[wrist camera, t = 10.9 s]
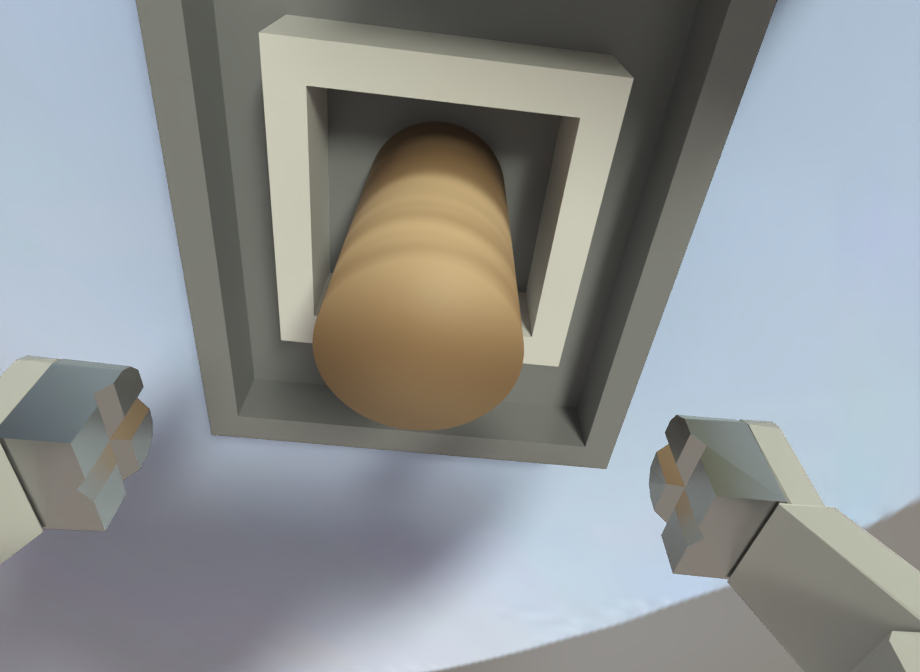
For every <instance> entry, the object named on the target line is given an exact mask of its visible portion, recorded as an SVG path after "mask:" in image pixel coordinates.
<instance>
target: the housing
mask: <svg viewBox="0 0 920 672" xmlns="http://www.w3.org/2000/svg"><path fill="white" fill-rule="evenodd" d="M776 2H777V0H136V4H137V10H138V16H139V22H140V27H141V33H142V39H143V44H144V50H145V56H146V62H147V67H148V73H149V79H150V85H151V90H152V96H153V102H154V107H155V113H156V119H157V125H158V130H159V136H160V142H161V148H162V153H163V159H164V165H165V170H166V176H167V182H168V188H169V193H170V199H171V205H172V210H173V216H174V222H175V228H176V233H177V239H178V245H179V251H180V256H181V262H182V268H183V273H184V279H185V285H186V291H187V296H188V302H189V308H190V314H191V319H192V325H193V331H194V336H195V342H196V348H197V354H198V359H199V365H200V371H201V377H202V382H203V388H204V394H205V399H206V405H207V411H208V417H209V422H210V428H211V434H212V435H221V436H233V437H244V438H256V439H267V440H279V441H290V442H302V443H313V444H325V445H336V446H348V447H359V448H371V449H382V450H394V451H405V452H417V453H428V454H440V455H451V456H463V457H474V458H486V459H497V460H509V461H520V462H532V463H543V464H555V465H566V466H578V467H589V468H601V469H606V468H607V466H608V463H609V460H610V457H611V455H612V452H613V449H614V446H615V444H616V441H617V438H618V435H619V433H620V430H621V427H622V424H623V422H624V419H625V416H626V413H627V411H628V408H629V405H630V402H631V400H632V397H633V394H634V392H635V389H636V386H637V383H638V381H639V378H640V375H641V372H642V370H643V367H644V364H645V361H646V359H647V356H648V353H649V350H650V348H651V345H652V342H653V339H654V337H655V334H656V331H657V328H658V326H659V323H660V320H661V318H662V315H663V312H664V309H665V307H666V304H667V301H668V298H669V296H670V293H671V290H672V287H673V285H674V282H675V279H676V276H677V274H678V271H679V268H680V265H681V263H682V260H683V257H684V255H685V252H686V249H687V246H688V244H689V241H690V238H691V235H692V233H693V230H694V227H695V224H696V222H697V219H698V216H699V213H700V211H701V208H702V205H703V202H704V200H705V197H706V194H707V191H708V189H709V186H710V183H711V181H712V178H713V175H714V172H715V170H716V167H717V164H718V161H719V159H720V156H721V153H722V150H723V148H724V145H725V142H726V139H727V137H728V134H729V131H730V128H731V126H732V123H733V120H734V117H735V115H736V112H737V109H738V107H739V104H740V101H741V98H742V96H743V93H744V90H745V87H746V85H747V82H748V79H749V76H750V74H751V71H752V68H753V65H754V63H755V60H756V57H757V54H758V52H759V49H760V46H761V43H762V41H763V38H764V35H765V33H766V30H767V27H768V24H769V22H770V19H771V16H772V13H773V11H774V8H775V5H776ZM424 122H446V123H451V124H455V125H458V126H461V127H463V128H466V129H468V130H470V131H471V132H473V133H474V134H476V135H477V136H479V137H480V138H481V139H482V140H483V141H485V142H486V144H487V145H488V146H489V147H490V148H491V149H492V151H493V152H494V154H495V155H496V157H497V159H498V161H499V163H500V166H501V169H502V172H503V177H504V183H505V191H506V199H507V208H508V216H509V224H510V232H511V241H512V249H513V257H514V266H515V274H516V282H517V290H518V299H519V307H520V315H521V324H522V332H523V340H524V358H523V365H522V368H521V372H520V375H519V377H518V379H517V381H516V383H515V385H514V387H513V388H512V390H511V391H510V392H509V394H508V395H507V396H506V397H505V398H504V399H503V401H502V402H501V403H499V404H498V405H497V406H496V407H495V408H493V409H492V410H491V411H489V412H488V413H486V414H485V415H483V416H481V417H479V418H477V419H475V420H473V421H471V422H468V423H465V424H463V425H460V426H456V427H452V428H447V429H440V430H428V431H419V430H407V429H399V428H395V427H391V426H387V425H384V424H381V423H378V422H375V421H373V420H371V419H368V418H366V417H364V416H362V415H361V414H359V413H357V412H355V411H354V410H352V409H351V408H350V407H348V406H347V405H346V404H344V403H343V402H342V401H341V400H340V399H339V398H338V397H337V396H336V395H335V394H334V393H333V392H332V391H331V390H330V388H329V387H328V386H327V384H326V383H325V381H324V380H323V378H322V377H321V374H320V372H319V370H318V368H317V365H316V362H315V358H314V353H313V345H312V343H313V331H314V326H315V322H316V319H317V316H318V313H319V311H320V308H321V305H322V302H323V300H324V297H325V294H326V291H327V289H328V286H329V283H330V280H331V278H332V275H333V272H334V269H335V267H336V264H337V261H338V258H339V255H340V253H341V250H342V247H343V244H344V242H345V239H346V236H347V233H348V231H349V228H350V225H351V222H352V220H353V217H354V214H355V211H356V209H357V206H358V203H359V200H360V198H361V195H362V192H363V189H364V187H365V184H366V181H367V178H368V175H369V173H370V170H371V167H372V165H373V162H374V160H375V157H376V156H377V154H378V152H379V150H380V149H381V148H382V146H383V145H384V144H385V143H386V142H387V141H388V140H389V139H390V138H391V137H392V136H394V135H395V134H396V133H398V132H399V131H401V130H403V129H405V128H407V127H409V126H412V125H415V124H419V123H424Z"/></svg>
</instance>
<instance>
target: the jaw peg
mask: <svg viewBox="0 0 920 672" xmlns="http://www.w3.org/2000/svg"><path fill="white" fill-rule="evenodd" d="M312 345H313V353H314V358H315V362H316V365H317V368H318V370H319V372H320V374H321V377H322V378H323V380H324V381H325V383H326V384H327V386H328V387H329V388H330V390H331V391H332V392H333V393H334V394H335V395H336V396H337V397H338V398H339V399H340V400H341V401H342V402H343V403H344V404H346V405H347V406H348V407H350V408H351V409H352V410H354V411H355V412H357V413H359V414H361V415H362V416H364V417H366V418H368V419H371V420H373V421H375V422H378V423H381V424H384V425H387V426H391V427H395V428H399V429H407V430H419V431H428V430H440V429H447V428H452V427H456V426H460V425H463V424H465V423H468V422H471V421H473V420H475V419H477V418H479V417H481V416H483V415H485V414H486V413H488V412H489V411H491V410H492V409H493V408H495V407H496V406H497V405H498V404H499V403H501V402H502V401H503V399H504V398H505V397H506V396H507V395H508V394H509V392H510V391H511V390H512V388H513V387H514V385H515V383H516V381H517V379H518V377H519V375H520V372H521V368H522V365H523V358H524V340H523V332H522V324H521V315H520V307H519V299H518V290H517V282H516V274H515V266H514V257H513V249H512V241H511V232H510V224H509V216H508V208H507V199H506V191H505V183H504V177H503V172H502V169H501V166H500V163H499V161H498V159H497V157H496V155H495V154H494V152H493V151H492V149H491V148H490V147H489V146H488V145H487V144H486V142H485V141H483V140H482V139H481V138H480V137H479V136H477V135H476V134H474V133H473V132H471V131H470V130H468V129H466V128H463V127H461V126H458V125H455V124H451V123H446V122H424V123H419V124H415V125H412V126H409V127H407V128H405V129H403V130H401V131H399V132H398V133H396V134H395V135H394V136H392V137H391V138H390V139H389V140H388V141H387V142H386V143H385V144H384V145H383V146H382V148H381V149H380V150H379V152H378V154H377V156H376V157H375V160H374V162H373V165H372V167H371V170H370V173H369V175H368V178H367V181H366V184H365V187H364V189H363V192H362V195H361V198H360V200H359V203H358V206H357V209H356V211H355V214H354V217H353V220H352V222H351V225H350V228H349V231H348V233H347V236H346V239H345V242H344V244H343V247H342V250H341V253H340V255H339V258H338V261H337V264H336V267H335V269H334V272H333V275H332V278H331V280H330V283H329V286H328V289H327V291H326V294H325V297H324V300H323V302H322V305H321V308H320V311H319V313H318V316H317V319H316V322H315V326H314V331H313V343H312Z"/></svg>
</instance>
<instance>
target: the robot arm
mask: <svg viewBox="0 0 920 672" xmlns="http://www.w3.org/2000/svg"><path fill="white" fill-rule="evenodd" d="M142 389H143V383H142V380H141V377H140V374H139V371H138V370H137V369H135V368H133V367H131V366H123V365H114V364H105V363H96V362H87V361H78V360H69V359H53V358H45V357H36V356H25V357H23V358H20V359H17V360H16V361H15V362H14V363H13V364H12V365H11V366H10V367H9V368H8V369H7V370H6V371H5V372H4V373H3V374H2V375H1V376H0V564H2V563H3V562H4V561H6V560H7V559H8V558H10V557H11V556H12V555H14V554H15V553H16V552H17V551H19V550H20V549H21V548H23V547H24V546H25V545H27V544H28V543H29V542H31V541H32V540H33V539H35V538H36V537H37V536H38V535H40V534H41V533H42V532H43V529H42V528H44V529H65V530H86V531H106V529H107V528H108V526H109V524H110V522H111V520H112V519H113V517H114V515H115V513H116V512H117V510H118V508H119V506H120V504H121V503H122V501H123V499H124V497H125V496H126V494H127V493H126V490H125V487H124V484H123V480H124V479H126V478H127V477H129V476H131V475H132V474H134V473H135V472H137V471H138V470H140V468H141V467H142V465H143V463H144V461H145V459H146V457H147V455H148V452H149V448H150V444H151V440H152V436H153V423H152V417H151V413H150V409H149V408H148V407H147V406H146V405H145V404H143V403H142V402H141V401H140V400H139V399H138V398H137V397H138V395H139V394H140V392H141V390H142ZM665 434H666V437H667V440H668V443H669V444H668V445H667V446H665V447H663V448H662V449H660V450H659V451H657V452H656V454H655V457H654V460H653V462H652V465H651V468H650V478H649V489H650V497H651V501H652V505H653V508H654V511H655V512H656V513H657V514H658V515H659V516H660V517H661V518H662V519H663V520H664V521H665V522H666V523H667V524H666V526H665V529H664V531H663V533H662V535H661V536H662V539H663V543H664V546H665V549H666V553H667V556H668V559H669V563H670V566H671V569H672V573H673V574H682V575H692V576H702V577H712V578H722V579H729V580H728V581H727V582H728V583H729V585H730V586H731V587H732V588H733V589H734V590H735V592H736V593H737V594H738V595H739V596H740V597H741V598H742V600H743V601H744V602H745V603H746V604H747V605H748V607H749V608H750V609H751V610H752V611H753V612H754V614H755V615H756V616H757V617H758V618H759V619H760V621H761V622H762V623H763V624H764V625H765V626H766V628H767V629H768V630H769V631H770V632H771V633H772V634H773V636H774V637H775V638H776V639H777V640H778V641H779V643H780V644H781V645H782V646H783V647H784V649H785V650H786V651H787V652H788V653H789V654H790V655H791V656H792V658H793V659H794V660H795V661H796V662H797V664H798V665H799V666H800V667H801V668H802V669H803V671H804V672H920V572H919V571H918V570H917V569H915V568H914V567H913V566H911V565H910V564H909V563H907V562H906V561H905V560H904V559H902V558H901V557H899V556H898V555H897V554H896V553H894V552H893V551H891V550H890V549H889V548H888V547H886V546H885V545H884V544H882V543H881V542H880V541H878V540H877V539H876V538H875V537H873V536H872V535H871V534H869V533H868V532H867V531H865V530H864V529H863V528H861V527H860V526H859V525H857V524H856V523H855V522H853V521H852V520H851V519H850V518H848V517H847V516H846V515H844V514H843V513H842V512H840V511H839V510H838V509H836V508H833V507H825V505H824V504H823V502H822V500H821V498H820V497H819V495H818V493H817V491H816V490H815V488H814V486H813V484H812V483H811V481H810V479H809V477H808V476H807V474H806V472H805V470H804V469H803V467H802V465H801V463H800V462H799V460H798V458H797V457H796V455H795V453H794V451H793V450H792V448H791V446H790V444H789V443H788V441H787V439H786V437H785V436H784V434H783V432H782V430H781V429H780V427H779V426H777V425H776V424H775V423H773V422H767V421H753V420H734V419H722V418H710V417H697V416H685V415H676V416H675V417H674V418H673V419H672V420H671V421H670V423H669V425H668V427H667V429H666V431H665Z"/></svg>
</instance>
